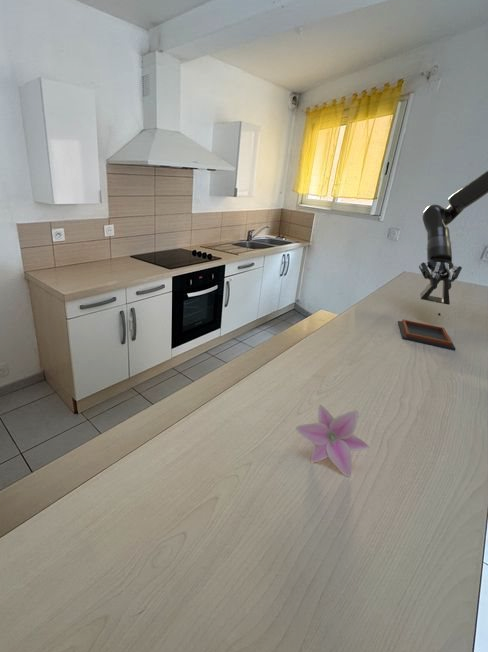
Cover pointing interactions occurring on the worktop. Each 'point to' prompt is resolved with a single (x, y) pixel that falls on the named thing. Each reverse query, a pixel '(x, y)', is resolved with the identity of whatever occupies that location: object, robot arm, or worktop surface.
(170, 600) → the worktop surface
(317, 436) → the lily
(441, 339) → the rimmed tray
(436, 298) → the phone stand
